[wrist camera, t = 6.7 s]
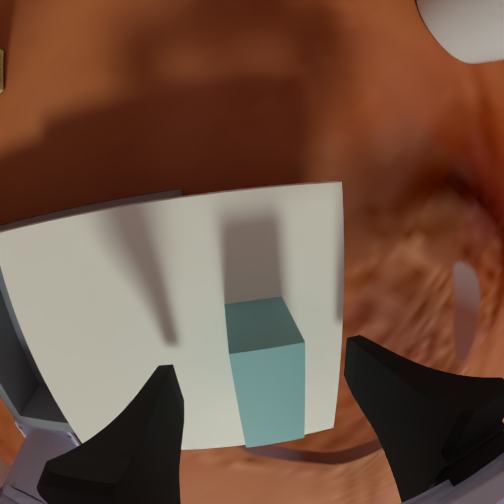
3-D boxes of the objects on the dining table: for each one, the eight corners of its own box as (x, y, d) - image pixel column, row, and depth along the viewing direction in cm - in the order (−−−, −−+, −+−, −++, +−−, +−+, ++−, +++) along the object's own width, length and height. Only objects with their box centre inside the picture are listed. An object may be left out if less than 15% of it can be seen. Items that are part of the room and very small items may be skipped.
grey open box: (215, 384, 21) (217, 434, 16) (39, 386, 19) (17, 423, 15) (181, 189, 17) (168, 197, 12) (-17, 230, 15) (-59, 247, 11)
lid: (329, 418, 16) (352, 471, 12) (86, 437, 15) (70, 486, 11) (334, 180, 12) (388, 189, 8) (1, 230, 11) (-55, 256, 7)
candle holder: (447, -25, 13) (526, -64, 2) (499, 61, 16) (592, 48, 5) (385, -19, 14) (478, -88, 2) (451, 85, 17) (575, 67, 5)
